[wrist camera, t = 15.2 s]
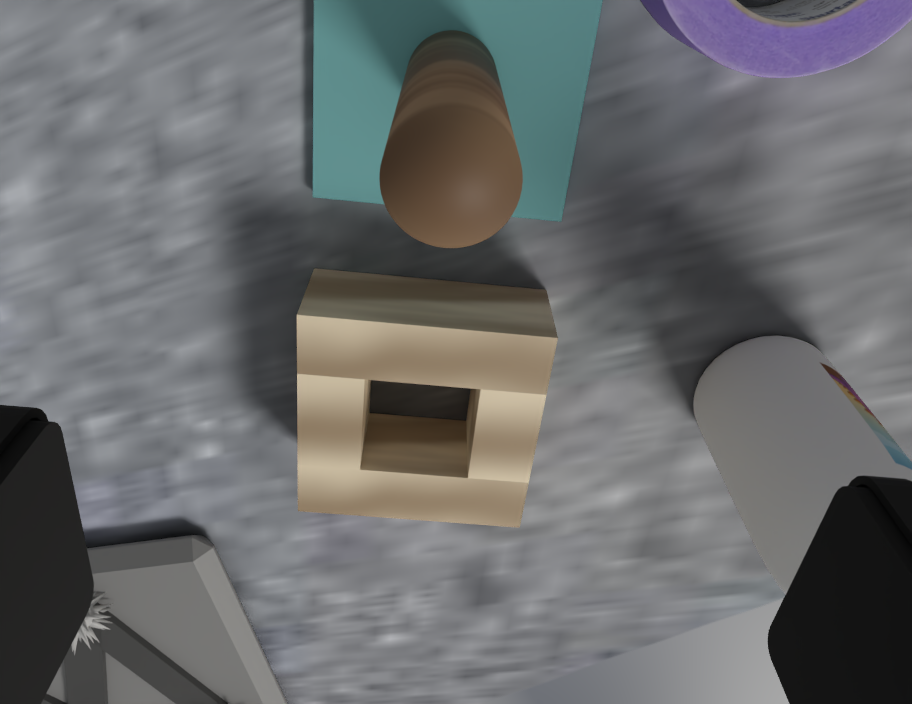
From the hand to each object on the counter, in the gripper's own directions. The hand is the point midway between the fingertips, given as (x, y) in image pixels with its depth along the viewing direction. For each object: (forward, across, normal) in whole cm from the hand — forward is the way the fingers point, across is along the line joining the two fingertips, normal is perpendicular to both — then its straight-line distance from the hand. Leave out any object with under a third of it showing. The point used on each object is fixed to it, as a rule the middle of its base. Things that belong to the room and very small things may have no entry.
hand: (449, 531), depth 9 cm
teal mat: (+28, 0, 0) cm, 28 cm away
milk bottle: (+28, -19, +15) cm, 37 cm away
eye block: (+28, 0, +16) cm, 32 cm away
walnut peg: (+28, 0, 0) cm, 28 cm away
